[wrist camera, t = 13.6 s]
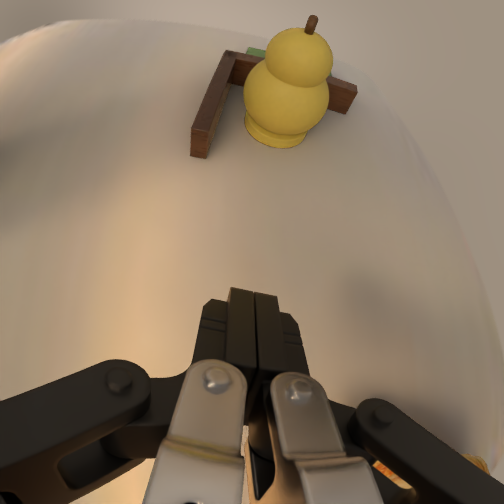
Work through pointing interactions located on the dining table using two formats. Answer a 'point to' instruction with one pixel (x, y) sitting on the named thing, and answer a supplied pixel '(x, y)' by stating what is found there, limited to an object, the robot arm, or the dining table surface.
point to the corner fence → (235, 72)
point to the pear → (288, 87)
